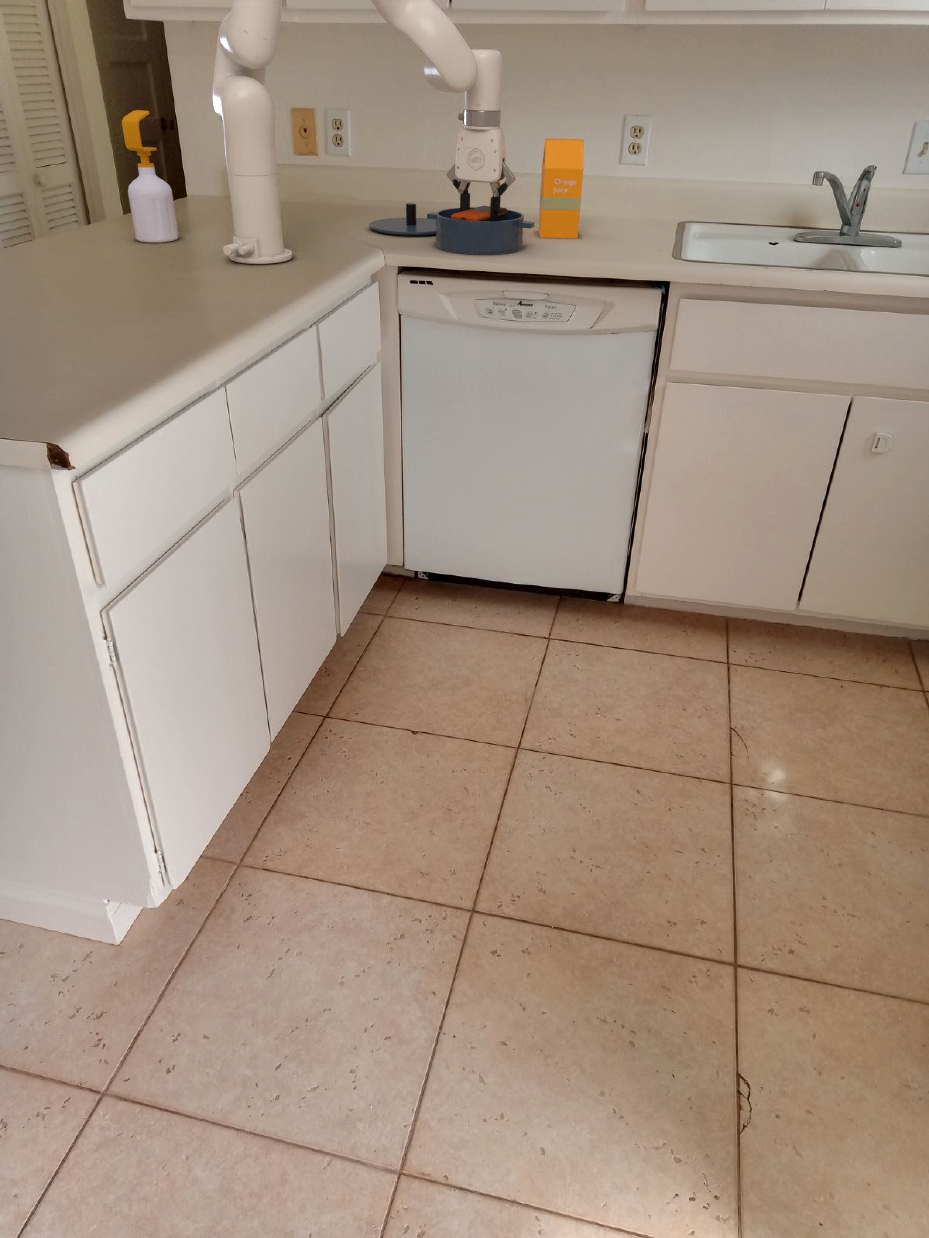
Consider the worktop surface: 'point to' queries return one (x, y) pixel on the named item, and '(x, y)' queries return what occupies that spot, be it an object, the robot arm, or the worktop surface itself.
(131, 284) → the worktop surface
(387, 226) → the lid
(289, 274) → the worktop surface
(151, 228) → the soap bottle
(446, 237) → the pot
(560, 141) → the orange juice
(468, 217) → the phone
